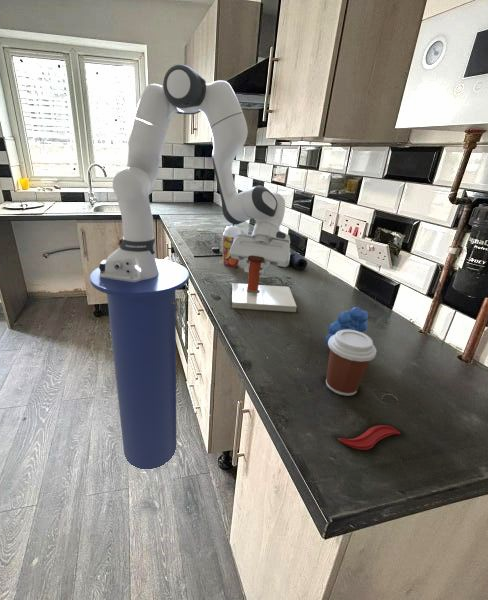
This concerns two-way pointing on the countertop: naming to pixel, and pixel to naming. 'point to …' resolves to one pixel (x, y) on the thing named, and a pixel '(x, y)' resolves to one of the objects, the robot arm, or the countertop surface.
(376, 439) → the cayenne pepper
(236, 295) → the sink floor
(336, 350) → the coffee cup
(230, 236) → the smoothie
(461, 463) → the countertop surface
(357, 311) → the grapes
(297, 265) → the pipe connector
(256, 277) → the stopper
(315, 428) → the countertop surface
